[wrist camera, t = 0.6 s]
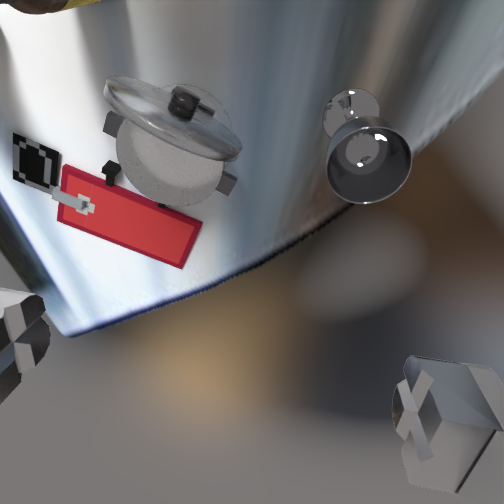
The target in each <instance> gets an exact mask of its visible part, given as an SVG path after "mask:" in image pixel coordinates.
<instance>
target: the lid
mask: <svg viewBox="0 0 504 504" xmlns="http://www.w3.org/2000/svg"><path fill="white" fill-rule="evenodd" d="M103 93H104V97H105V98H106V100H107V101H108V102H109V104H110V105H111V106H112V107H113V108H114V109H115V110H116V111H117V112H119V113H120V114H121V115H122V116H124V117H125V118H126V119H128V120H129V121H130V122H132V123H133V124H135V125H136V126H138V127H139V128H141V129H143V130H144V131H146V132H148V133H149V134H151V135H153V136H155V137H157V138H158V139H160V140H162V141H164V142H166V143H168V144H170V145H173V146H175V147H177V148H179V149H182V150H184V151H186V152H189V153H192V154H194V155H197V156H200V157H204V158H207V159H211V160H215V161H222V162H231V161H234V160H236V159H237V157H238V155H239V153H240V151H241V149H242V144H241V142H240V141H239V139H238V138H237V137H236V136H235V135H234V134H233V133H232V132H231V131H230V130H229V129H228V128H227V127H226V126H224V125H223V124H222V123H220V122H219V121H218V120H216V119H215V118H213V117H212V116H210V115H209V114H207V113H206V112H204V111H203V110H201V109H199V108H198V105H199V102H200V100H201V99H200V97H198V96H197V95H196V94H194V93H193V92H191V91H189V90H187V89H185V88H183V87H181V86H176V87H175V90H174V92H173V94H171V93H169V92H167V91H165V90H163V89H160V88H158V87H156V86H153V85H151V84H148V83H145V82H142V81H140V80H136V79H133V78H129V77H124V76H110V77H108V78H107V81H106V85H105V88H104V92H103Z"/></svg>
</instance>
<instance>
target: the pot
mask: <svg viewBox="0 0 504 504" xmlns="http://www.w3.org/2000/svg"><path fill="white" fill-rule="evenodd" d="M176 86H181V87H183V88H185V89H187V90H189V91H191V92H193V93H194V94H196V95H197V96H198V97H200V99H201V100H200V102H199V105H198V108H199V109H201V110H203V111H204V112H206V113H207V114H209V115H210V116H212V117H213V118H215V119H216V120H218V121H219V122H220V123H222V124H223V125H224V126H226V127H227V128H228V129H229V130H230V131H231V132H232V126H231V123H230V120H229V118H228V115H227V114H226V112H225V110H224V109H223V107H222V106H221V105H220V103H219V102H218V101H217V100H216V99H215V98H214V97H212V96H211V95H210V94H208V93H207V92H205V91H203V90H201V89H199V88H197V87H194V86H190V85H182V84H177V85H170V86H166V87H164V88H162V89H163V90H165V91H167V92H169V93H171V94H173V92H174V90H175V87H176ZM103 132H105V133H107V134H109V135H111V136H113V137H115V138H117V139H116V151H117V157H118V161H119V163H120V166H121V168H122V170H123V172H124V174H125V175H126V177H127V178H128V180H129V181H130V182H131V184H132V185H133V186H134V187H135V188H136V189H138V190H139V191H140V192H141V193H142V194H144V195H145V196H147V197H149V198H150V199H152V200H154V201H157V202H159V203H162V204H165V205H170V206H188V205H193V204H196V203H198V202H201V201H202V200H204V199H206V198H207V197H208V196H209V195H211V193H212V192H213V191H214V190H215V189H216V190H217V191H219V192H221V193H223V194H225V195H227V196H228V195H229V194H230V192H231V190H232V188H233V187H234V185H235V183H236V181H237V178H236V177H235V176H233V175H231V174H229V173H227V172H225V171H224V168H225V165H226V163H227V162H222V161H215V160H211V159H207V158H204V157H200V156H197V155H194V154H192V153H189V152H186V151H184V150H182V149H179V148H177V147H175V146H173V145H170V144H168V143H166V142H164V141H162V140H160V139H158V138H157V137H155V136H153V135H151V134H149V133H148V132H146V131H144V130H143V129H141V128H139V127H138V126H136V125H135V124H133V123H132V122H130V121H129V120H128V119H125V118H124V117H122V116H120V115H118V114H116V113H114V112H112V111H110V112H108V113H107V116H106V120H105V124H104V128H103ZM232 133H233V132H232Z"/></svg>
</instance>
